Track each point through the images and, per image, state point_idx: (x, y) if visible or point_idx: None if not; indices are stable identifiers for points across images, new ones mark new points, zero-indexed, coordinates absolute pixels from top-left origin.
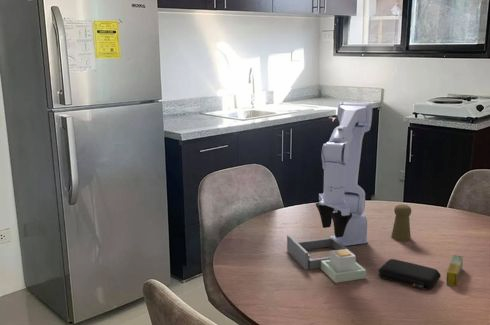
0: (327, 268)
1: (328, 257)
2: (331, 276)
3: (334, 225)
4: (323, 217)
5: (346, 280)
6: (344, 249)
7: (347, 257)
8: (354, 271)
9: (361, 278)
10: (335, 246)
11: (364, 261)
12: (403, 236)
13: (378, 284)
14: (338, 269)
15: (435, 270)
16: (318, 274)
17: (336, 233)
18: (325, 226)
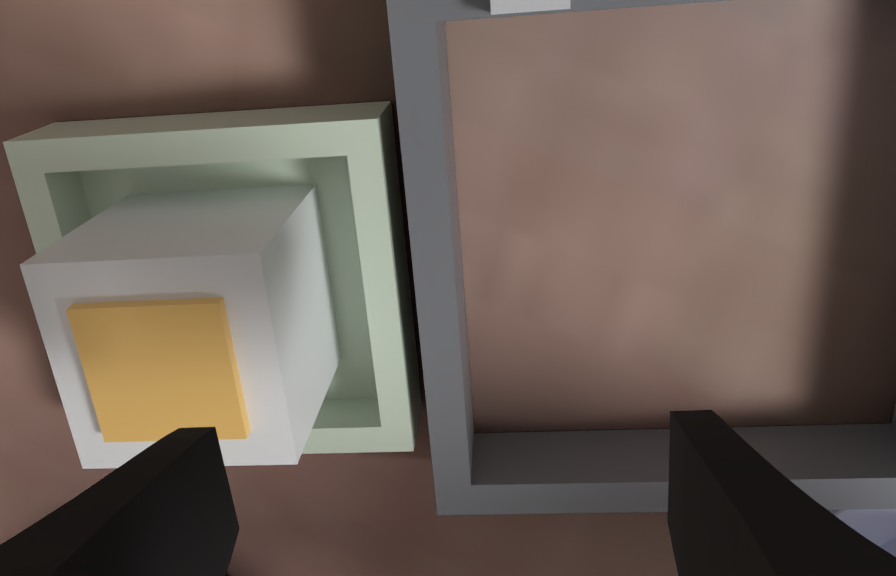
0: (204, 126)
1: (431, 237)
2: (124, 122)
3: (42, 552)
4: (741, 553)
5: None
6: (286, 433)
7: (55, 371)
8: None
9: None
10: (807, 444)
11: (452, 539)
12: None
13: (21, 451)
14: (95, 216)
15: None
16: (257, 22)
17: (128, 471)
18: (672, 454)
